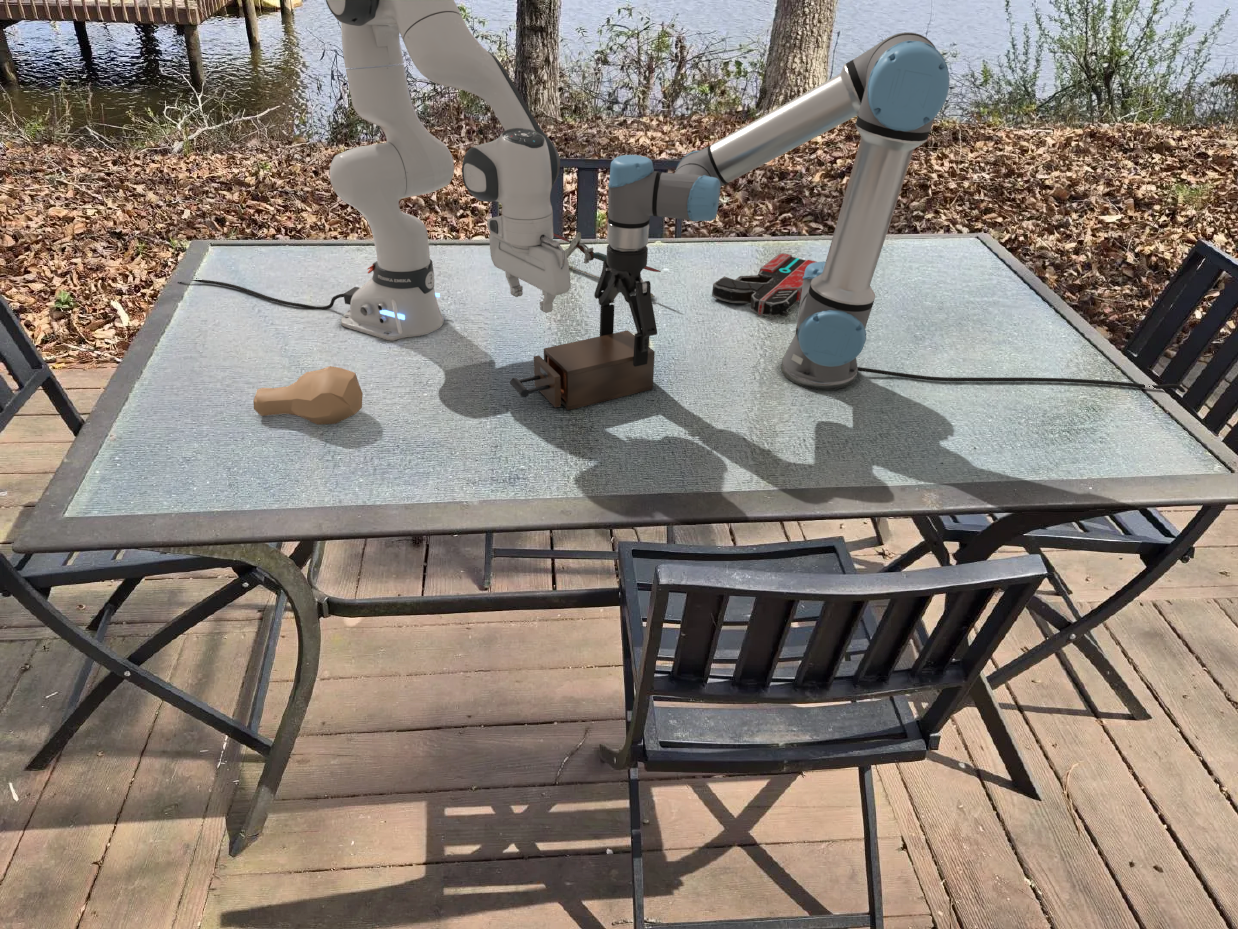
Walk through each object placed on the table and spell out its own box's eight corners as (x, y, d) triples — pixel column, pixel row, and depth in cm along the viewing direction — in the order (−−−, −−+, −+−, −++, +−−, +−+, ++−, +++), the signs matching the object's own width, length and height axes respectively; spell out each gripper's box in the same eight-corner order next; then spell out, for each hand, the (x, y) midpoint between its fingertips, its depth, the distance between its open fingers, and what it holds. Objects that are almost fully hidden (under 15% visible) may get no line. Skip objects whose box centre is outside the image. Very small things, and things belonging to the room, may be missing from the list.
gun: (708, 284, 207) (784, 305, 199) (760, 245, 229) (831, 262, 221) (706, 302, 209) (781, 323, 201) (758, 261, 231) (828, 278, 223)
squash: (362, 431, 158) (346, 392, 151) (255, 439, 159) (235, 401, 153) (374, 393, 165) (360, 354, 159) (272, 401, 167) (254, 364, 161)
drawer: (526, 414, 162) (524, 384, 158) (506, 392, 169) (504, 362, 165) (636, 387, 172) (637, 358, 168) (613, 367, 179) (613, 338, 175)
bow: (662, 300, 209) (664, 260, 204) (657, 302, 208) (659, 262, 203) (550, 258, 231) (549, 220, 225) (545, 259, 230) (544, 222, 224)
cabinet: (568, 410, 166) (567, 371, 161) (544, 386, 173) (543, 348, 169) (652, 389, 173) (654, 351, 169) (626, 366, 181) (627, 330, 176)
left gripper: (578, 240, 148) (579, 316, 156) (510, 211, 161) (514, 283, 169) (548, 248, 145) (550, 325, 152) (481, 218, 158) (486, 290, 165)
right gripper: (681, 265, 152) (672, 373, 164) (612, 221, 170) (609, 321, 182) (644, 271, 149) (637, 381, 161) (578, 226, 167) (577, 328, 179)
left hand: (531, 303), depth 161 cm, fingers open, 8 cm apart
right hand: (622, 350), depth 172 cm, fingers open, 13 cm apart
